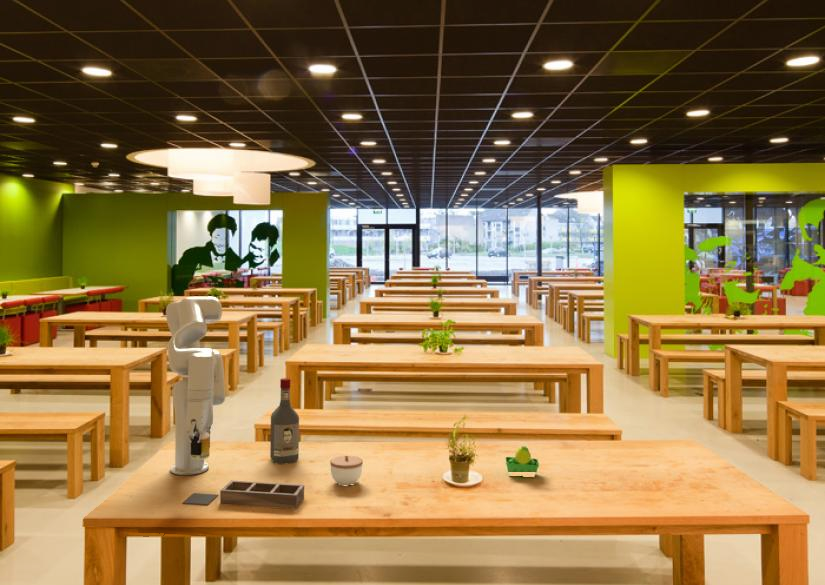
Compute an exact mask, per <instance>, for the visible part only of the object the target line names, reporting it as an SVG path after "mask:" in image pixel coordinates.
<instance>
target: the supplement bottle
mask: <svg viewBox="0 0 825 585" xmlns="http://www.w3.org/2000/svg"><path fill="white" fill-rule="evenodd" d="M206 431H207V429H206V430H205V431H203V432H202V434H201V441H200V442H202V454H201V455H191V458H192V459H195V460H202V459H204V460H206V459H208V458H210V448H209V440H210V441H211V435H210V436H209V433H208V432H206ZM195 432H198V430H195ZM195 436H197V437H198V434H195Z"/></svg>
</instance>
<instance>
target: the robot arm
mask: <svg viewBox="0 0 825 585" xmlns="http://www.w3.org/2000/svg"><path fill="white" fill-rule="evenodd" d="M165 316H166V317H165V318H166V323H167V327H168V329H169V331H170V333H171V338H170V339H169V341H168V345H167V355H168V365H169V369H170V370H171V371H172V372H173V373H175V374H177V375H178V376H179V377H182V378H186V379H182V380H181V379H180V380H179V381H177V382H175V384H174V385H173V387H172V399H173V406H174V420H175V421H174V423H175V424H174V428H175V429H174V430H175V431H174V432H175V434H174V436H175V438H174V439H175V440H174V442H175V443H174V447H175V448H174V452H175V453H174V455H175V456H174V461H175V462H174V464H172V465H171V466H170V473H173V474H174V475H179V476H191V475H198V474H202V473H205V472H207V471H208V469H209V463H207V462H206V461H205V459H202V460H195V459H192V458H191V455H201V454H202V442H200V441H201V434H202V432H203V431H205V430H206V429H207V431H206V432H208V433H209V436H210V437H211V428H212V426H213V423H214V406H219V405H222V404H223V403H224V402H225V400H226V393H227V392H226V381H225V379H226V378H225V370H224V368H225V367H224V360H223V359H224V358H223V356H222V354H221V352H220V351H219V350H216V349H212V348H210V347H201V346H200V345H201V344H200V340H202V339H203V338H204V337H206V334H207V332H208V326H207V325H209V324H215V323H217V322H219V321H220V320H221V319H222V316H223V306H222V303H221V301H220V300H219V298H217V297H215V296H188V297H185V298H182V299H181V300H176V301H172V302H169V303H168V305H167V306H166V308H165ZM195 430H198V432H195ZM195 434H198V437H197V436H195ZM210 447H211V439H210V440H209V449H210Z"/></svg>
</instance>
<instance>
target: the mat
mask: <svg viewBox="0 0 825 585" xmlns="http://www.w3.org/2000/svg"><path fill="white" fill-rule="evenodd" d="M218 497H219V494H215V493H200V492H193V493H192V494H191V495H189V496H188V497H186V499H184V500H183V501H182V505H194V506H195V505H199V506H209V505H210V504H211V503H212V502H213V501H215V500H216V498H218Z"/></svg>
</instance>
